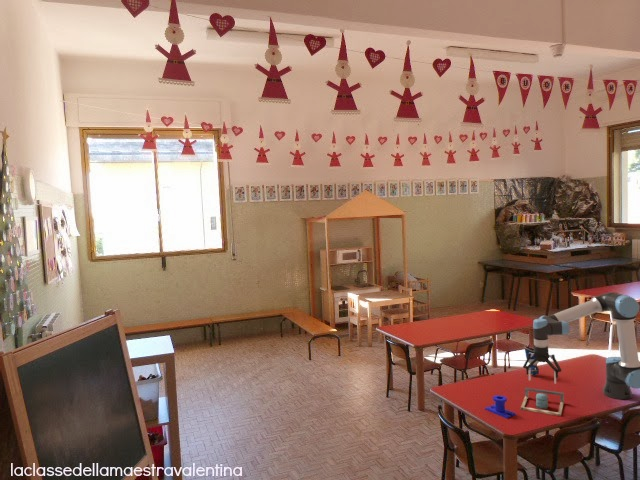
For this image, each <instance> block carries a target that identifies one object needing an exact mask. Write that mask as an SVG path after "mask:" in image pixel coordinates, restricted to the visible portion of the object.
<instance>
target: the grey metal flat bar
mask: <svg viewBox="0 0 640 480" xmlns="http://www.w3.org/2000/svg"><path fill="white" fill-rule="evenodd" d="M529 392H533V393H534V392H535V393H542V394H547V395H549V394H550V395H556V396H560V402H563V403H564V404H565V398H564V396H565V395H564V394H565V393H564V392H559V391H554V390H553V391H552V390H545V389H540V388H533V387H525V388H524V397H525V396H527V397H528V398H529Z"/></svg>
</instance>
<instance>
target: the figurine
mask: <svg viewBox="0 0 640 480" xmlns="http://www.w3.org/2000/svg"><path fill="white" fill-rule="evenodd" d="M524 352H525V353H524V354H525V358H526V359H527V358H528V354H529V352H531V353H533V354H534V347H530V346H524ZM534 359H535V357H534V356H532V357H530V359H529V361H528V363H529V364H530V363H531V362H532V361H533V360H534ZM538 363H540V362H539V361H536V362H535V363H534V364H533V365H532V366H531V367H530V371H531V375H532V376H533V377H537V375H539V373H540V369H539V367H538V366H537V364H538Z"/></svg>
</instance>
